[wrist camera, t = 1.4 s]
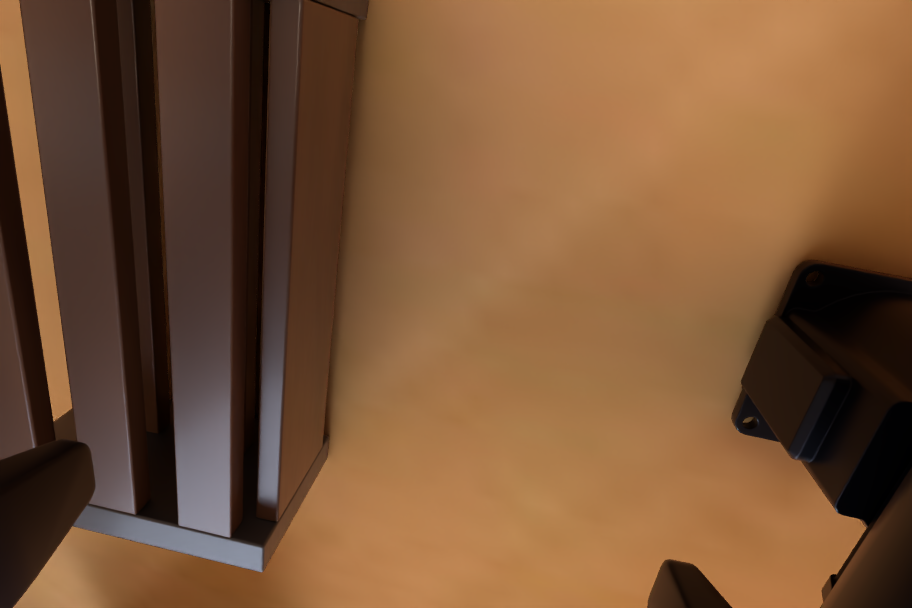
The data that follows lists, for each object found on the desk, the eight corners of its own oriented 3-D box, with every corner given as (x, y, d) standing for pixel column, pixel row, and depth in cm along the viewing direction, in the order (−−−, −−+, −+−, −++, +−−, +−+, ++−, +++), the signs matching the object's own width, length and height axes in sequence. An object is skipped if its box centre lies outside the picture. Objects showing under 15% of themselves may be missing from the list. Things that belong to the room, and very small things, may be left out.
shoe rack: (371, -25, 16) (286, -80, 11) (327, 458, 23) (263, 574, 18) (58, -78, 17) (-172, -155, 11) (107, 407, 24) (-21, 504, 18)
